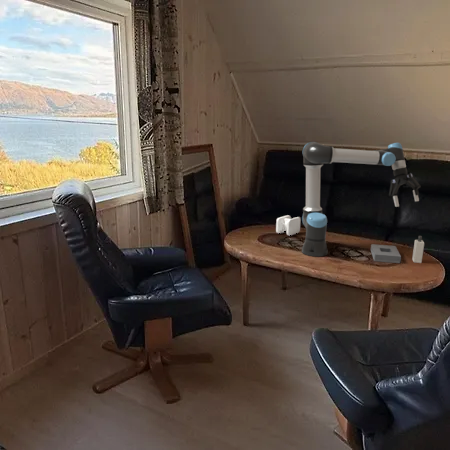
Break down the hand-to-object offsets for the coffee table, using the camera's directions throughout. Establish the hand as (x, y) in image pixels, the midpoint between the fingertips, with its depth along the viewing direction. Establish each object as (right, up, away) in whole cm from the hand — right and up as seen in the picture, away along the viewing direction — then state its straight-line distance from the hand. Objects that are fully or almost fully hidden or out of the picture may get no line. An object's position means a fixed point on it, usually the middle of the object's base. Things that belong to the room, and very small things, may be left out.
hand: (407, 204), depth 245 cm
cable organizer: (-63, -18, +48) cm, 81 cm away
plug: (+4, -33, -4) cm, 34 cm away
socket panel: (-12, -31, +3) cm, 33 cm away
